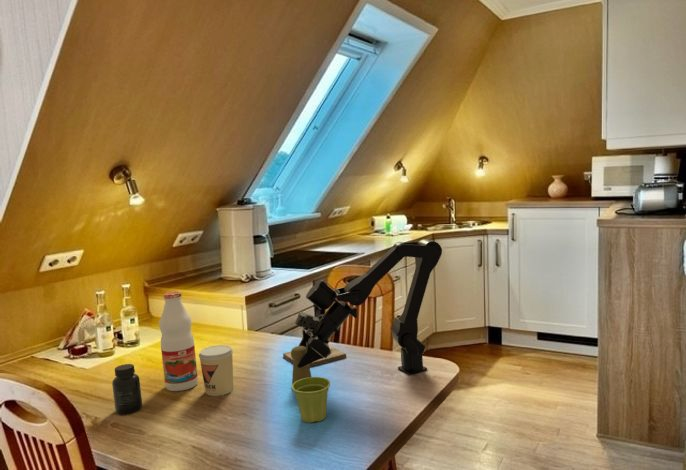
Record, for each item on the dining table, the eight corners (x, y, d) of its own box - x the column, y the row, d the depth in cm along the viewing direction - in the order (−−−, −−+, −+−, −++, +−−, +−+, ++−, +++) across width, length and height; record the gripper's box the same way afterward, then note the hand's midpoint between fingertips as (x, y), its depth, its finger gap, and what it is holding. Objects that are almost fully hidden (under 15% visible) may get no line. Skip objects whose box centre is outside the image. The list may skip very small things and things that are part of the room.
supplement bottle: (122, 404, 152) (117, 363, 150) (146, 403, 151) (141, 361, 150) (111, 416, 145) (105, 372, 143) (136, 414, 145) (131, 371, 143)
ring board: (346, 357, 178) (345, 350, 177) (301, 369, 170) (301, 361, 170) (326, 346, 190) (325, 339, 190) (283, 356, 182) (282, 349, 182)
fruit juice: (195, 377, 169) (186, 287, 166) (201, 387, 161) (191, 293, 157) (163, 383, 165) (153, 292, 162) (167, 394, 157) (157, 298, 153)
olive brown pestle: (314, 379, 161) (311, 343, 159) (311, 388, 155) (308, 350, 153) (294, 380, 161) (291, 344, 160) (290, 388, 155) (287, 351, 154)
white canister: (196, 392, 157) (192, 351, 156) (223, 381, 164) (219, 342, 162) (215, 400, 151) (211, 358, 149) (242, 388, 157) (239, 348, 156)
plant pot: (318, 429, 130) (316, 394, 129) (286, 422, 135) (284, 388, 134) (339, 413, 138) (337, 380, 137) (309, 406, 143) (306, 374, 142)
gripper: (307, 294, 165) (273, 334, 164) (315, 310, 147) (276, 355, 146) (335, 317, 167) (301, 357, 167) (346, 335, 149) (308, 379, 148)
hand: (296, 361), depth 157 cm, fingers open, 9 cm apart
